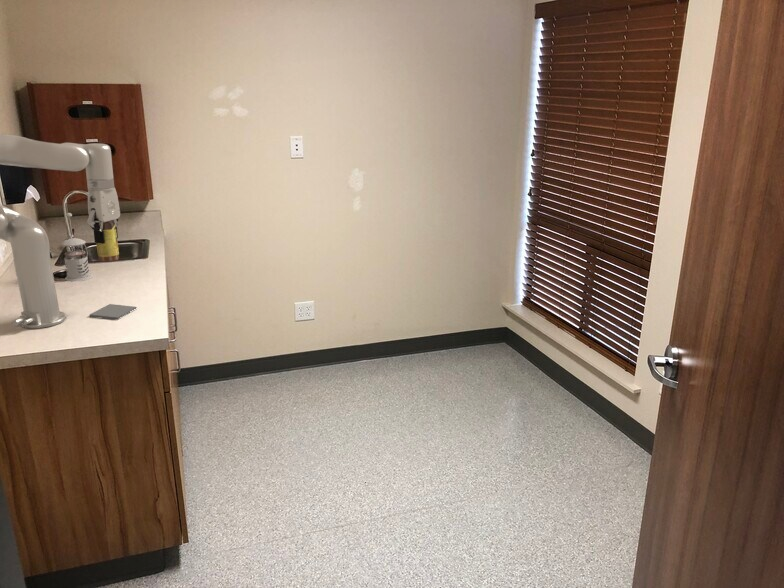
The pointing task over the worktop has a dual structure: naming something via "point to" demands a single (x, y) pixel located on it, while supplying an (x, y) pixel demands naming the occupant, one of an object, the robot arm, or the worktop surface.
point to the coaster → (112, 311)
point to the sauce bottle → (108, 243)
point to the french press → (76, 260)
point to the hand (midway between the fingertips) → (106, 240)
